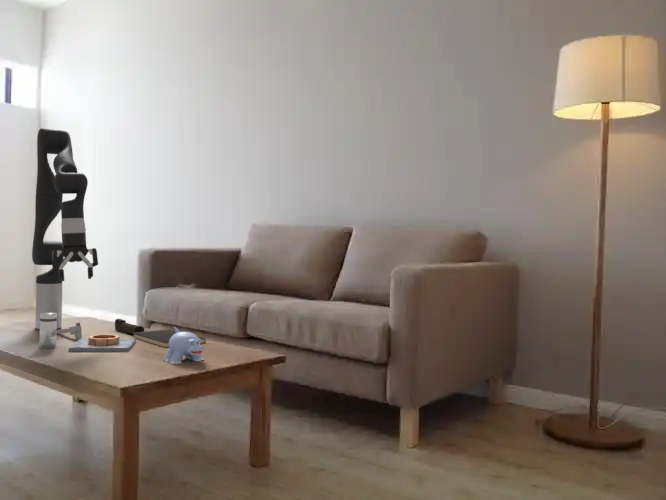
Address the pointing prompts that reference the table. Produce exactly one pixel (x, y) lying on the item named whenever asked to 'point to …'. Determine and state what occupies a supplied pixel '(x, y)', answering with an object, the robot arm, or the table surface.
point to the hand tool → (127, 327)
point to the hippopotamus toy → (183, 347)
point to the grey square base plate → (103, 344)
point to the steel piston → (48, 330)
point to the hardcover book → (158, 337)
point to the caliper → (73, 331)
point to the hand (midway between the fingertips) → (76, 279)
